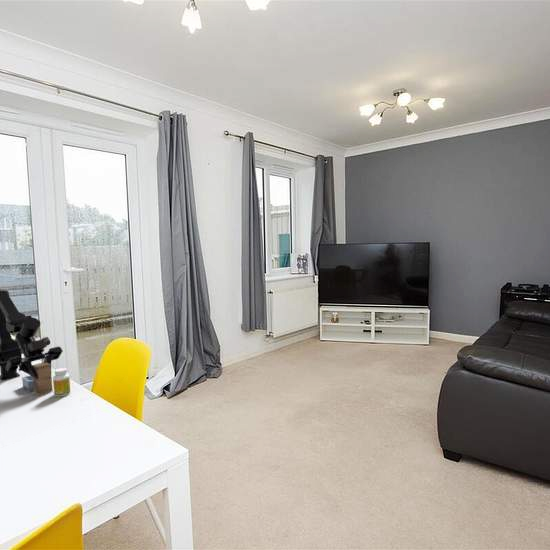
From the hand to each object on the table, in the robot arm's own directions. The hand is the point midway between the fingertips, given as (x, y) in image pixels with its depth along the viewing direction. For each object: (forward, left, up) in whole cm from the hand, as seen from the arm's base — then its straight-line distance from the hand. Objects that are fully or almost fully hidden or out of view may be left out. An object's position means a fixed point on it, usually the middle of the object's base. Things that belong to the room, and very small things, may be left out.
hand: (44, 376), depth 145 cm
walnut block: (-1, 0, -7) cm, 7 cm away
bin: (-10, 0, -7) cm, 12 cm away
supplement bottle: (+7, +4, -7) cm, 10 cm away
